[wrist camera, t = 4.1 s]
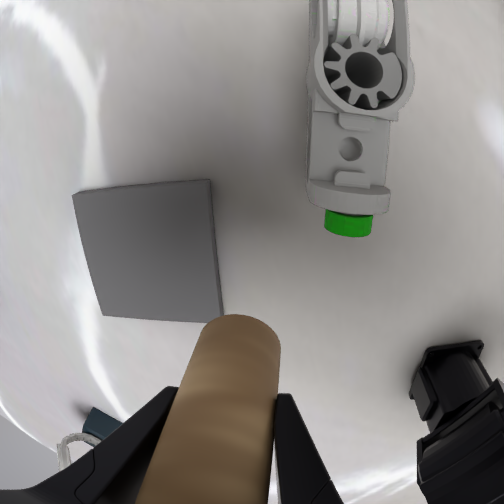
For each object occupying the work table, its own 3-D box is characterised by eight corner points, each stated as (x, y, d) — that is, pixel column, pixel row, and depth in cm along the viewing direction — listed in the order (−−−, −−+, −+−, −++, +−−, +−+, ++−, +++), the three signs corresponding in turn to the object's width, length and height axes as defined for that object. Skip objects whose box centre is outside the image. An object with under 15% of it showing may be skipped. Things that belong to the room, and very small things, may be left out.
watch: (79, 398, 31) (42, 464, 21) (136, 430, 32) (107, 501, 22) (77, 416, 33) (44, 475, 23) (128, 444, 34) (102, 507, 24)
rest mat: (209, 179, 19) (205, 182, 18) (223, 315, 23) (221, 323, 22) (79, 191, 20) (72, 195, 19) (108, 308, 24) (102, 315, 23)
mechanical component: (294, 176, 18) (305, 236, 9) (298, 15, 14) (311, -74, 5) (342, 180, 18) (398, 242, 9) (348, 20, 14) (403, -57, 5)
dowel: (280, 314, 10) (259, 524, 4) (281, 376, 11) (265, 549, 5) (193, 313, 11) (111, 494, 4) (205, 373, 12) (155, 532, 5)
